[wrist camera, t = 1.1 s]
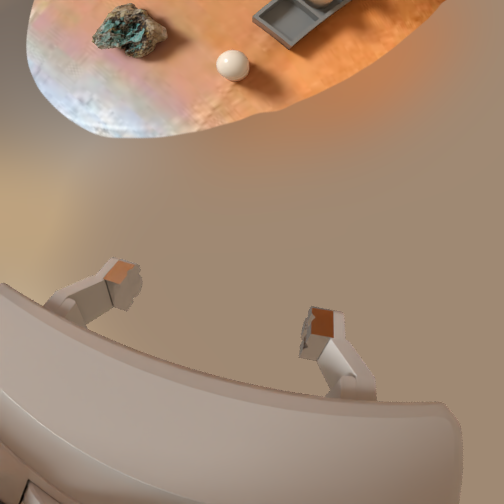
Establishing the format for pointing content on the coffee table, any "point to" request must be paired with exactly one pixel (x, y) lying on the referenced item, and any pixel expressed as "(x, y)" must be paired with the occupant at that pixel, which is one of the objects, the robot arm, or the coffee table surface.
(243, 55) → the cream round-topped peg
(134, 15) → the mineral specimen
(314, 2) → the carton
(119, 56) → the coffee table surface
